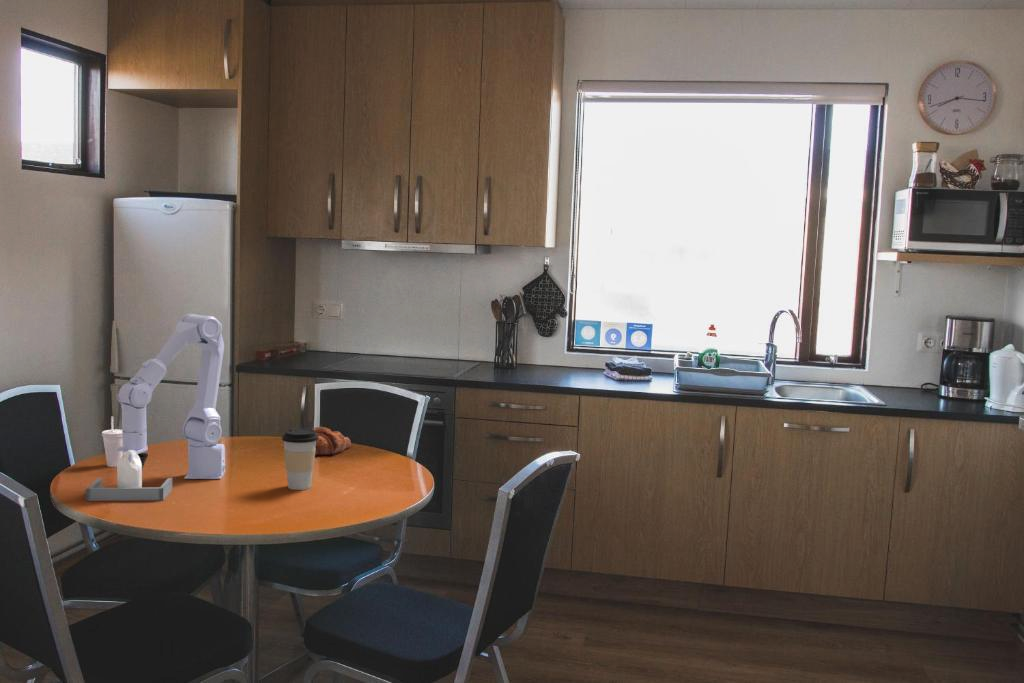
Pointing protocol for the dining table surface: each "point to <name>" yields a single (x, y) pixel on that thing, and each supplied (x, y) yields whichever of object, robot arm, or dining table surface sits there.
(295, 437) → the coffee cup
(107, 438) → the smoothie
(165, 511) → the dining table surface
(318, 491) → the dining table surface
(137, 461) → the white rounded-top container
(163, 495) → the box
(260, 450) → the dining table surface
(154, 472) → the dining table surface
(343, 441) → the pastry
